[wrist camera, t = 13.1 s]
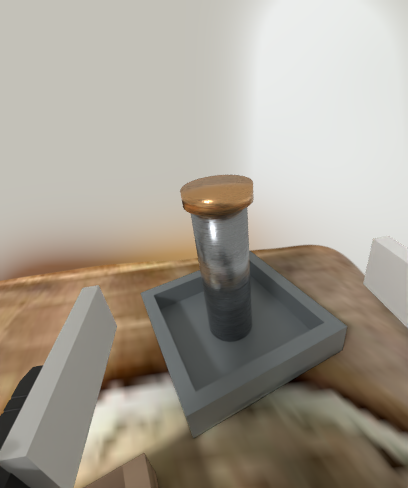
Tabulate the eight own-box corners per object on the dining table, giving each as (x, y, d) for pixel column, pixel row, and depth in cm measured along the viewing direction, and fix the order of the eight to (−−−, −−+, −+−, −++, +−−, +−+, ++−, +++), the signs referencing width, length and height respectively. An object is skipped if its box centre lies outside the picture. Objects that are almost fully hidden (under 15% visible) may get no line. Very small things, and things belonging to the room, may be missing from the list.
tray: (147, 312, 25) (140, 292, 24) (251, 269, 29) (249, 250, 27) (193, 438, 15) (185, 416, 14) (342, 349, 19) (347, 326, 18)
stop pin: (196, 317, 23) (171, 185, 17) (239, 298, 24) (230, 171, 18) (219, 355, 19) (196, 205, 13) (268, 331, 20) (268, 185, 14)
